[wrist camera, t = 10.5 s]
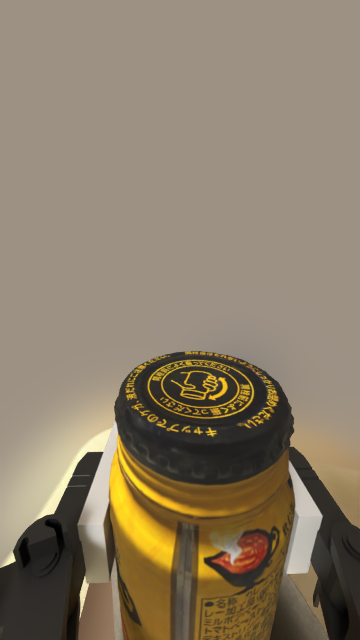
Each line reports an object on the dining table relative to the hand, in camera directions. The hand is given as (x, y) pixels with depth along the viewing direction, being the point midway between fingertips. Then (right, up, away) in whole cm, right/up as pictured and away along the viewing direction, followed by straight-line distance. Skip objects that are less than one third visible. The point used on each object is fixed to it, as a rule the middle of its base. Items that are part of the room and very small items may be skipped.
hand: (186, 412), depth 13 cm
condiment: (+1, -8, -3) cm, 8 cm away
